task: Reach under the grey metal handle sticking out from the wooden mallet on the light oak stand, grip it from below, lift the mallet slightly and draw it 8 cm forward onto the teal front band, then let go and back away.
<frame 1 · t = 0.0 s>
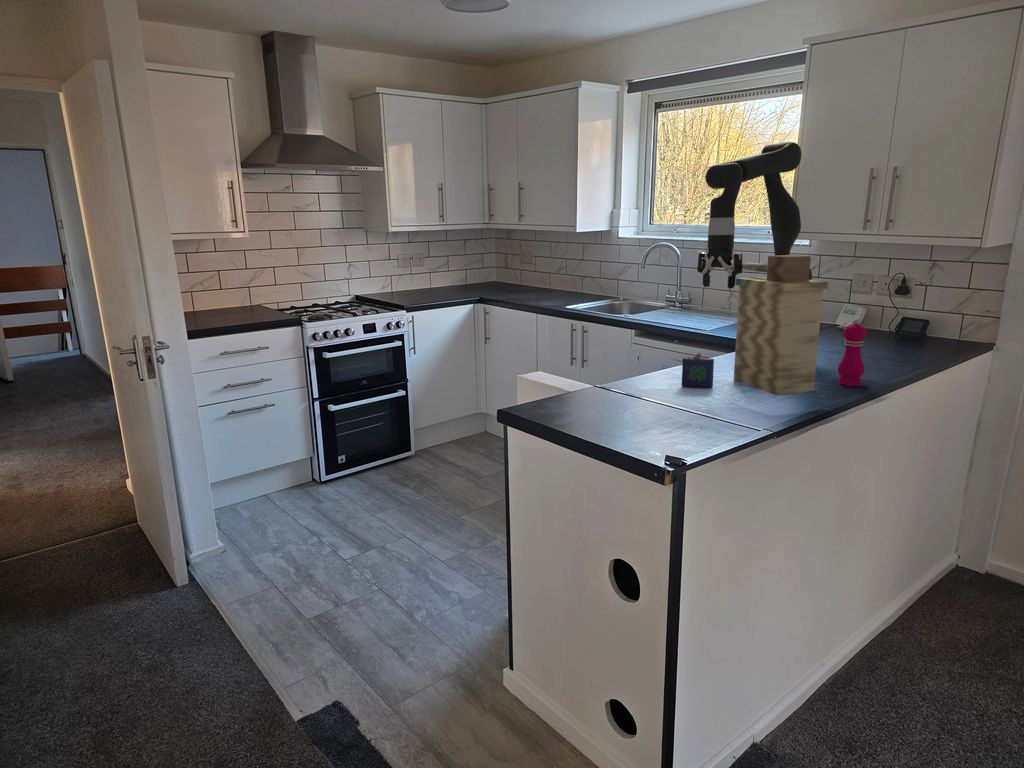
hand: (718, 287, 201), 29 cm above the worktop, tool pointing down, fingers open, 8 cm apart
wooden mallet: (787, 280, 189), point 32 cm above the worktop, touching stand
pepper mill: (849, 384, 199), on the worktop
flask: (697, 387, 200), on the worktop
stand: (772, 385, 199), on the worktop
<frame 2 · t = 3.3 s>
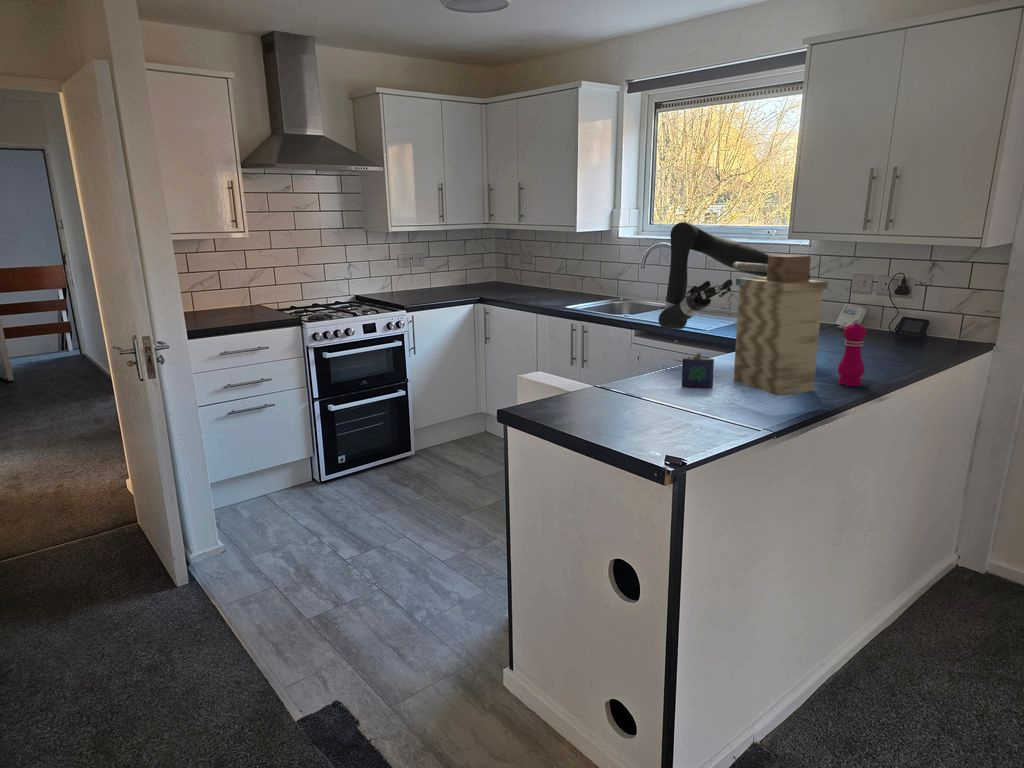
hand: (720, 282, 219), 29 cm above the worktop, tool pointing upward, fingers open, 8 cm apart
nothing on the worktop moved.
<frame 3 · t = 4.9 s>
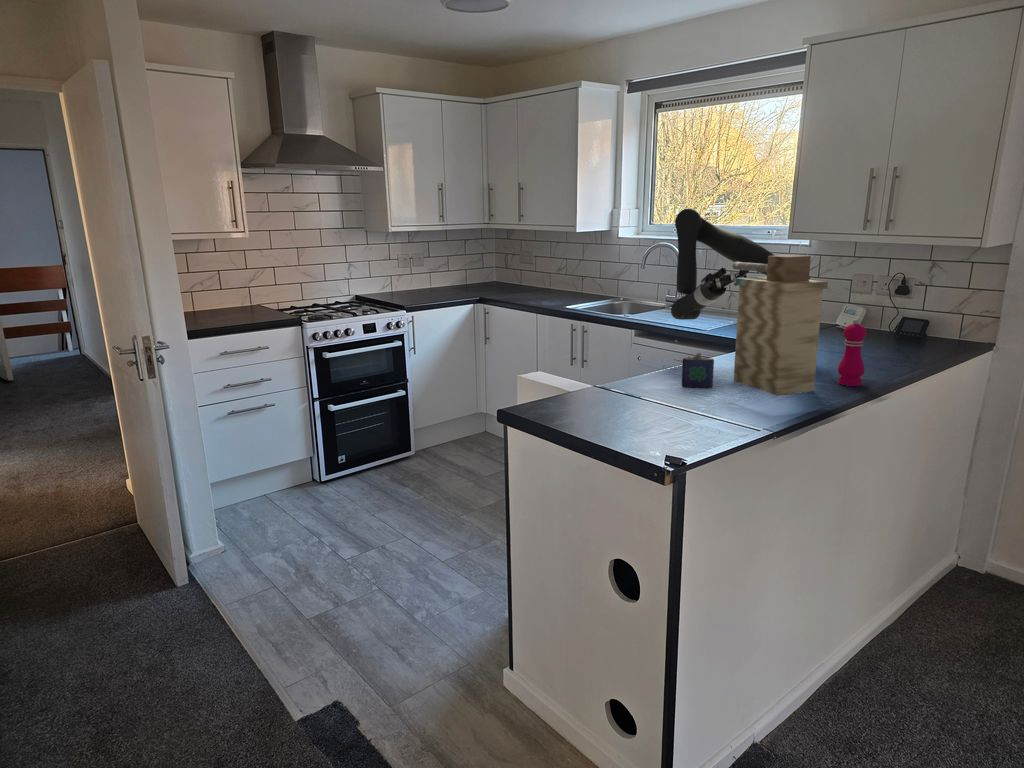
hand: (736, 269, 210), 34 cm above the worktop, tool pointing upward, fingers open, 8 cm apart
nothing on the worktop moved.
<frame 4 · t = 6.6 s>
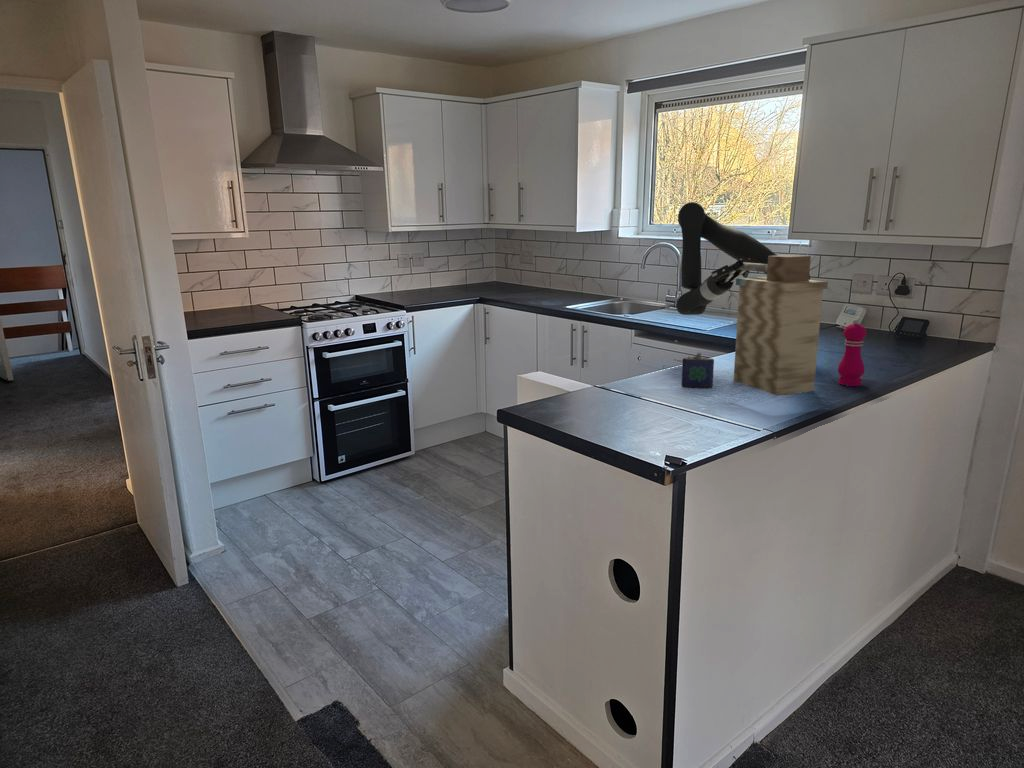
hand: (746, 261, 205), 36 cm above the worktop, tool pointing upward, fingers closed on wooden mallet, 2 cm apart
wooden mallet: (787, 280, 189), point 32 cm above the worktop, touching gripper, stand
everything else where it was.
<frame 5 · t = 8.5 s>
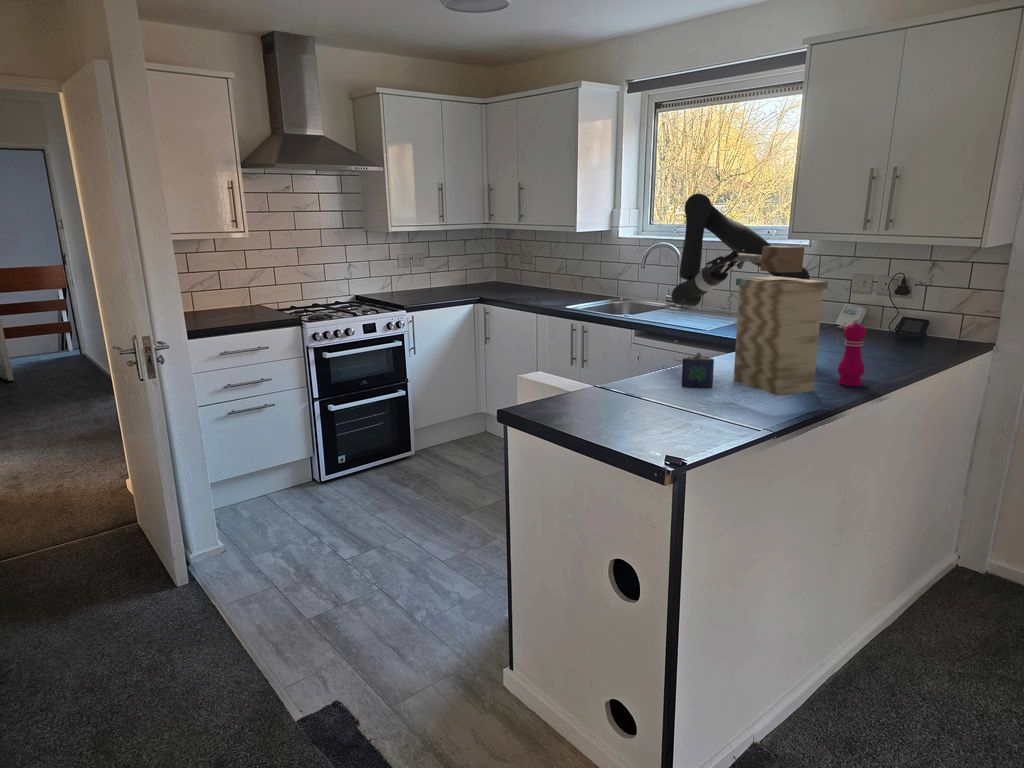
hand: (740, 252, 207), 39 cm above the worktop, tool pointing upward, fingers closed on wooden mallet, 2 cm apart
wooden mallet: (780, 271, 191), point 35 cm above the worktop, touching gripper
everything else where it was.
when the fingers open (37 cm above the worktop, at t = 10.7 s): wooden mallet stays where it is, resting on stand.
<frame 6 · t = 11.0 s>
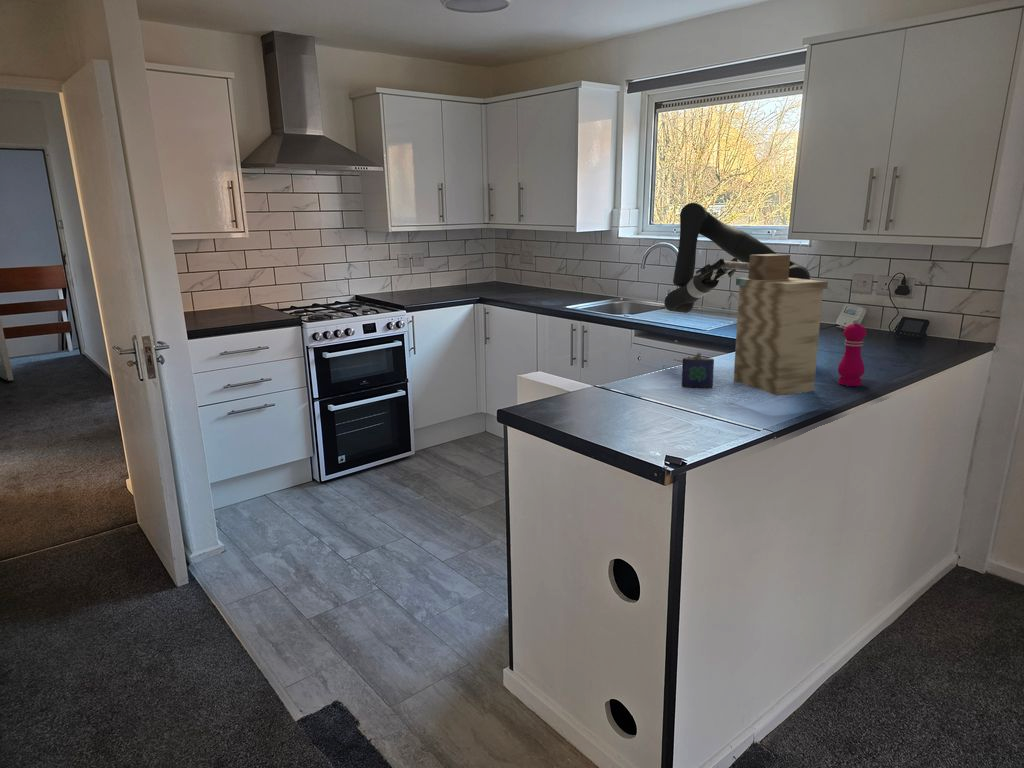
hand: (729, 260, 213), 36 cm above the worktop, tool pointing upward, fingers open, 4 cm apart
wooden mallet: (768, 278, 196), point 32 cm above the worktop, touching stand
everything else where it was.
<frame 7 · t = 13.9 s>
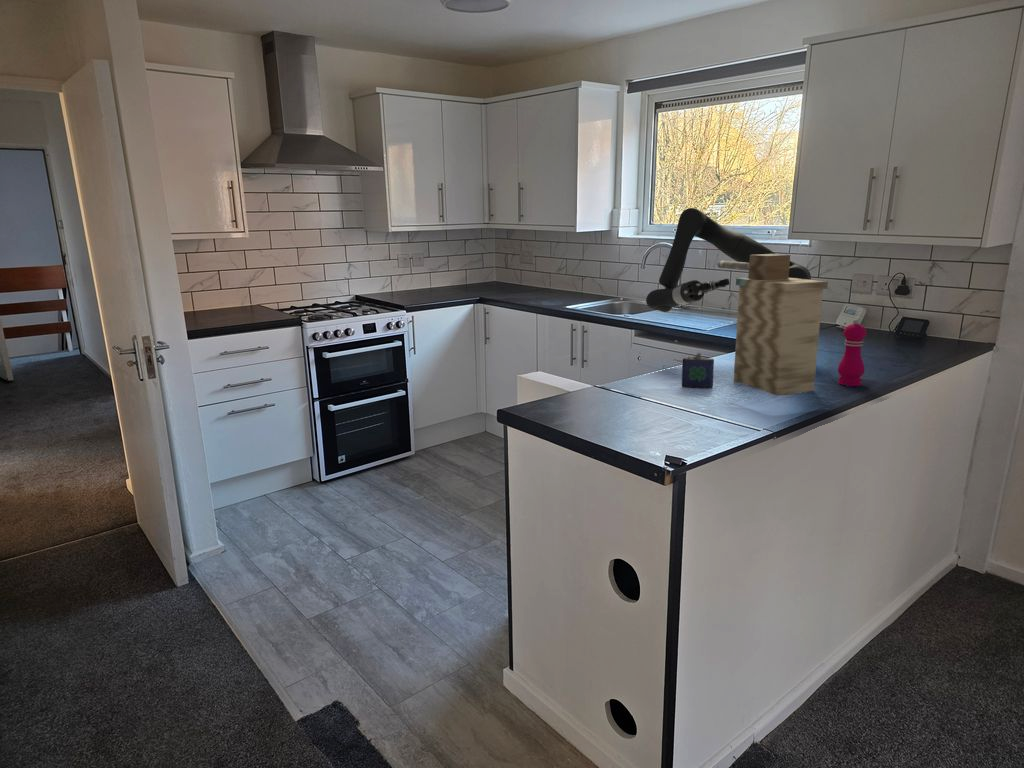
hand: (718, 283, 221), 28 cm above the worktop, tool pointing upward, fingers open, 8 cm apart
nothing on the worktop moved.
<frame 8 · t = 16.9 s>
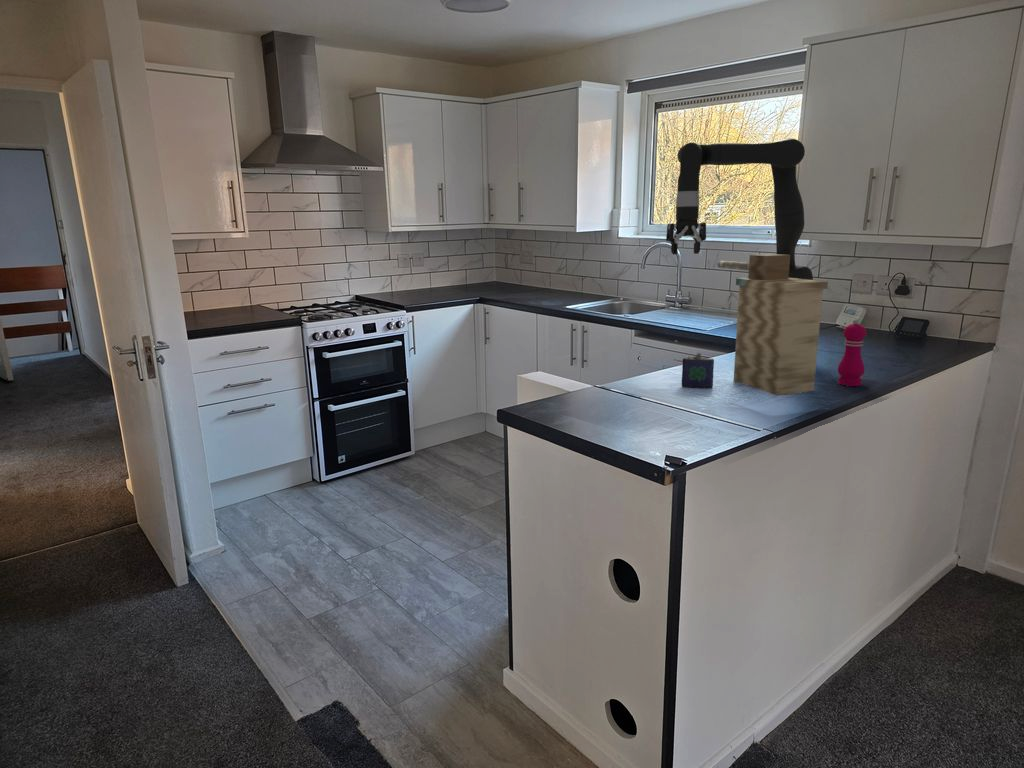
hand: (685, 254, 226), 38 cm above the worktop, tool pointing down, fingers open, 8 cm apart
nothing on the worktop moved.
at the end: wooden mallet 0.4 cm from the target spot, point 32.0 cm above the worktop; wooden mallet tilted 0°; the gripper is holding nothing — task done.
